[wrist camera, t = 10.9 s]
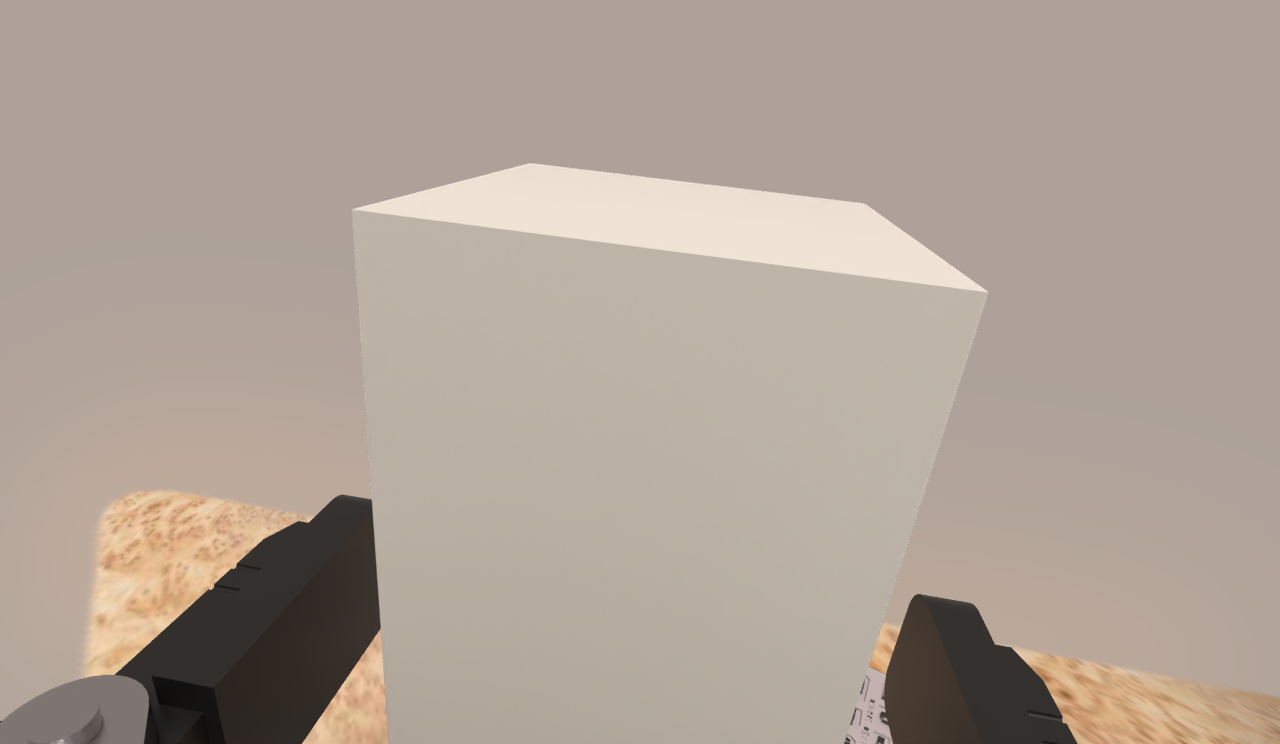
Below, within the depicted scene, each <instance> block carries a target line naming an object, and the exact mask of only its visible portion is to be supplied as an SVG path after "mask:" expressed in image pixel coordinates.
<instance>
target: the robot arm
mask: <svg viewBox="0 0 1280 744" xmlns="http://www.w3.org/2000/svg"><path fill="white" fill-rule="evenodd" d="M380 629H381V624H380V610H379V595H378V581H377V566H376V552H375V538H374V523H373V509H372V500H371V499H366V498H359V497H354V496H347V495H339V496H337V497H335V498H334V499H333V500H332V501H331V502H330V503H329V504H328V505H327V506H326V507H325V508H323V510H321V511H320V512H319V513H318V514H317V515H316V516H315V517H314V518H313V519H312V520H311V521H310V522H309V523H306V522H300V521H298V522H296V523H294V524H292V525H290V526H288V527H286V528H284V529H283V530H281V531H279V532H277V533H275V534H273V535H271V536H269V537H267V538H265V539H263V540H262V541H261V542H260V543H259V544H258V545H257V546H256V547H255V548H253V549H252V550H251V551H250V552H249V553H248V554H247V555H246V556H245V557H244V558H242V559H241V560H240V561H239V562H238V563H237V566H236V568H235V569H230V570H229V571H228V572H227V573H226V574H225V575H224V576H223V577H222V578H221V579H219V580H218V581H217V582H216V583H215V584H214V588H213V589H212V590H209V589H208V590H207V591H206V592H205V593H204V594H203V595H202V596H201V597H200V598H199V599H197V600H196V601H195V602H194V603H193V604H192V605H191V606H190V607H189V608H188V609H187V610H185V611H184V612H183V613H182V614H181V615H180V616H179V617H178V618H177V619H176V620H174V621H173V622H172V623H171V624H170V625H169V626H168V627H167V628H166V629H165V630H163V631H162V632H161V633H160V634H159V635H158V636H157V637H156V638H155V639H154V640H152V641H151V642H150V643H149V644H148V645H147V646H146V647H145V648H144V649H143V650H142V651H140V652H139V653H138V654H137V655H136V656H135V657H134V658H133V659H132V660H131V661H129V662H128V663H127V664H126V665H125V666H124V667H123V668H122V669H121V670H119V671H118V672H117V673H116V674H115V675H101V676H92V677H88V678H83V679H79V680H76V681H72V682H69V683H66V684H63V685H61V686H58V687H56V688H54V689H51V690H49V691H47V692H45V693H43V694H41V695H39V696H37V697H35V698H34V699H32V700H30V701H29V702H27V703H25V704H24V705H22V706H21V707H19V708H18V709H17V710H15V711H14V712H13V713H11V714H10V715H9V716H7V717H6V718H5V719H4V720H3V721H0V744H302V743H303V741H304V740H305V738H306V737H307V735H308V734H309V733H310V731H311V730H312V728H313V727H314V725H315V724H316V722H317V721H318V719H319V718H320V716H321V715H322V713H323V712H324V711H325V709H326V708H327V706H328V705H329V703H330V702H331V700H332V699H333V697H334V696H335V694H336V693H337V691H338V690H339V689H340V687H341V686H342V684H343V683H344V681H345V680H346V678H347V677H348V675H349V674H350V672H351V671H352V670H353V668H354V667H355V665H356V664H357V662H358V661H359V659H360V658H361V656H362V655H363V653H364V652H365V650H366V649H367V648H368V646H369V645H370V643H371V642H372V640H373V639H374V637H375V636H376V634H377V633H378V631H379V630H380ZM884 703H885V712H886V718H887V722H888V726H889V730H890V734H891V738H892V742H893V744H1077V742H1076V740H1075V738H1074V737H1073V735H1072V733H1071V731H1070V729H1069V727H1068V726H1067V724H1065V723H1063V722H1062V717H1063V716H1062V714H1061V713H1060V711H1059V709H1058V707H1057V705H1056V703H1055V702H1054V700H1053V698H1052V696H1051V694H1050V692H1049V690H1048V689H1047V687H1046V685H1045V683H1044V681H1043V680H1042V679H1041V678H1040V677H1039V676H1038V675H1037V674H1036V673H1035V672H1034V671H1033V670H1032V668H1031V667H1030V666H1029V665H1028V664H1027V663H1026V662H1025V661H1024V660H1023V659H1022V658H1021V657H1020V656H1019V655H1018V654H1017V653H1016V652H1015V651H1014V650H1013V649H1012V648H1011V647H1005V646H1000V645H995V644H994V642H993V640H992V637H991V635H990V634H989V631H988V629H987V627H986V625H985V623H984V621H983V619H982V617H981V615H980V613H979V611H978V609H977V608H976V607H975V606H974V605H973V604H971V603H968V602H962V601H956V600H950V599H944V598H938V597H932V596H927V595H921V594H917V595H915V596H914V597H913V598H912V600H911V602H910V604H909V607H908V610H907V613H906V616H905V619H904V621H903V624H902V627H901V630H900V633H899V636H898V639H897V642H896V645H895V648H894V651H893V654H892V657H891V660H890V663H889V666H888V669H887V673H886V678H885V687H884Z"/></svg>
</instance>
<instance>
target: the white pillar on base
mask: <svg viewBox="0 0 1280 744" xmlns="http://www.w3.org/2000/svg"><path fill="white" fill-rule="evenodd" d="M352 221H353V235H354V249H355V265H356V278H357V293H358V307H359V322H360V337H361V351H362V365H363V380H364V394H365V408H366V423H367V437H368V451H369V466H370V480H371V494H372V509H373V523H374V538H375V552H376V566H377V581H378V595H379V610H380V624H381V638H382V653H383V667H384V681H385V696H386V710H387V725H388V739H389V744H844V742H845V739H846V736H847V733H848V729H849V726H850V723H851V720H852V717H853V714H854V711H855V708H856V705H857V701H858V698H859V695H860V692H861V689H862V686H863V683H864V680H865V676H866V673H867V670H868V667H869V664H870V661H871V658H872V655H873V652H874V648H875V645H876V642H877V639H878V636H879V633H880V630H881V627H882V623H883V620H884V617H885V614H886V611H887V608H888V604H889V602H890V598H891V595H892V592H893V589H894V586H895V583H896V580H897V577H898V574H899V570H900V567H901V564H902V561H903V558H904V555H905V552H906V548H907V545H908V542H909V539H910V536H911V533H912V530H913V527H914V524H915V521H916V517H917V514H918V511H919V508H920V505H921V502H922V498H923V495H924V492H925V489H926V486H927V483H928V480H929V477H930V474H931V470H932V468H933V464H934V461H935V458H936V455H937V452H938V449H939V446H940V443H941V439H942V436H943V433H944V430H945V427H946V424H947V421H948V418H949V415H950V411H951V408H952V405H953V402H954V399H955V396H956V393H957V389H958V386H959V383H960V380H961V377H962V374H963V371H964V368H965V365H966V362H967V358H968V355H969V352H970V349H971V346H972V343H973V340H974V337H975V333H976V330H977V327H978V324H979V321H980V318H981V315H982V311H983V309H984V305H985V302H986V299H987V296H988V292H987V291H986V290H985V289H983V288H982V287H980V286H979V285H978V284H976V283H975V282H973V281H972V280H971V279H969V278H968V277H966V276H965V275H964V274H962V273H961V272H959V271H958V270H957V269H955V268H954V267H952V266H951V265H950V264H948V263H947V262H945V261H944V260H943V259H941V258H940V257H938V256H937V255H936V254H934V253H933V252H931V251H930V250H929V249H927V248H926V247H924V246H923V245H922V244H920V243H919V242H917V241H916V240H915V239H913V238H912V237H910V236H909V235H908V234H906V233H905V232H904V231H902V230H901V229H899V228H898V227H897V226H895V225H894V224H892V223H891V222H890V221H888V220H887V219H885V218H884V217H883V216H881V215H880V214H878V213H877V212H876V211H874V210H873V209H871V208H870V207H868V206H867V205H866V204H864V203H856V202H847V201H839V200H831V199H823V198H815V197H806V196H798V195H790V194H781V193H773V192H765V191H756V190H748V189H739V188H731V187H723V186H715V185H707V184H699V183H690V182H682V181H673V180H665V179H656V178H648V177H640V176H632V175H623V174H616V173H608V172H598V171H591V170H582V169H574V168H566V167H558V166H549V165H541V164H533V163H529V164H526V165H522V166H518V167H514V168H510V169H506V170H502V171H499V172H494V173H491V174H487V175H483V176H479V177H475V178H471V179H468V180H464V181H460V182H456V183H452V184H449V185H444V186H440V187H437V188H433V189H429V190H425V191H422V192H417V193H413V194H410V195H406V196H402V197H398V198H394V199H391V200H386V201H383V202H379V203H375V204H371V205H367V206H363V207H359V208H355V209H352Z"/></svg>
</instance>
